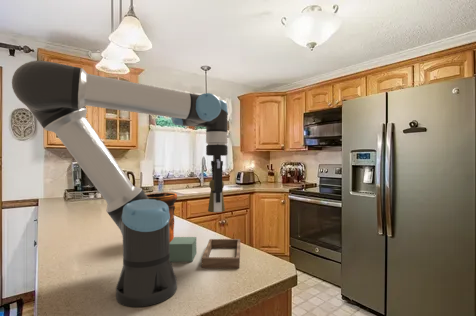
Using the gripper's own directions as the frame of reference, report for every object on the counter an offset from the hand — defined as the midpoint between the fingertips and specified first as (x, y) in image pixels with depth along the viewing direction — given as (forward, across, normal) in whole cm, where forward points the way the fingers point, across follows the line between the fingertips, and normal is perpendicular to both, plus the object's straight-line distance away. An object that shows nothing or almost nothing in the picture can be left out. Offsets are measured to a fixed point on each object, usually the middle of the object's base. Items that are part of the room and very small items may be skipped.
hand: (216, 209), depth 95 cm
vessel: (+17, +22, +22) cm, 35 cm away
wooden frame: (+17, 0, -2) cm, 17 cm away
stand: (+17, +2, +12) cm, 21 cm away
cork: (0, 0, 0) cm, 0 cm away
